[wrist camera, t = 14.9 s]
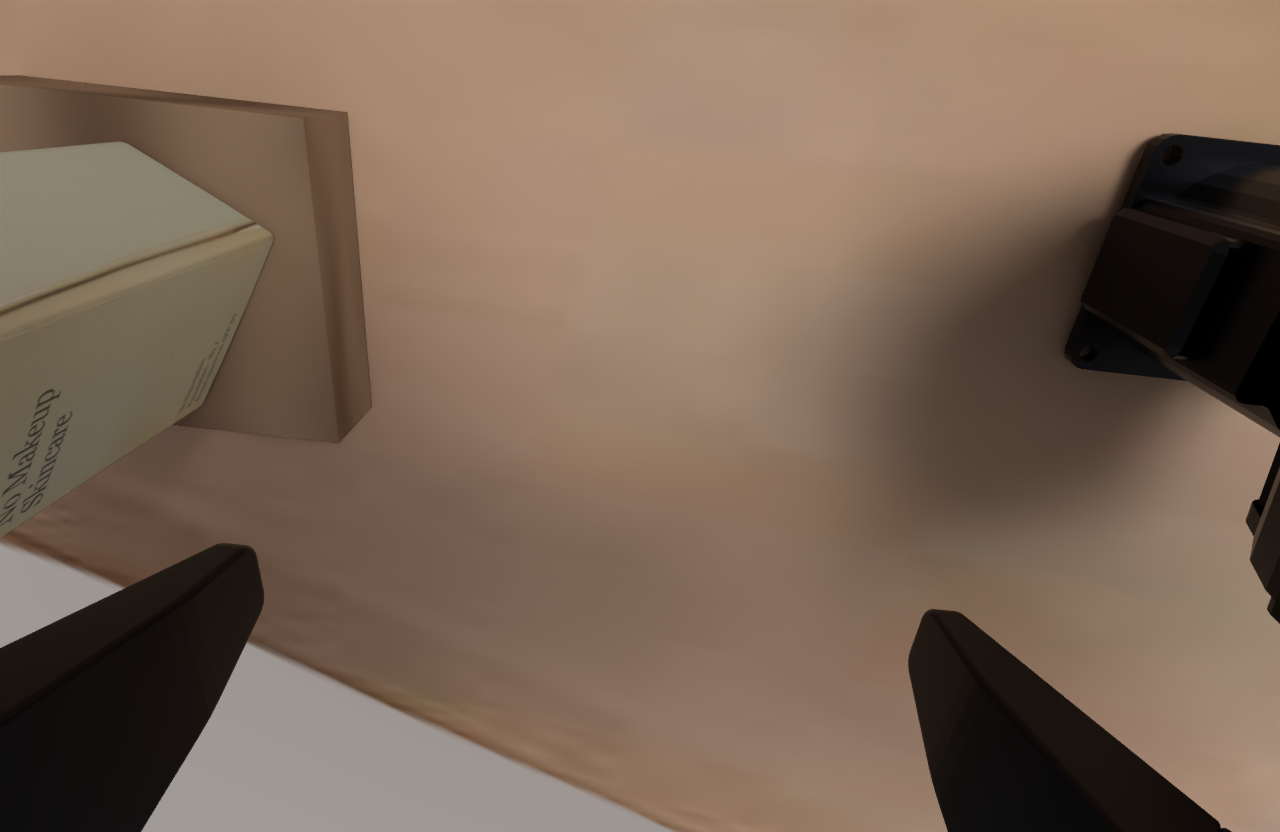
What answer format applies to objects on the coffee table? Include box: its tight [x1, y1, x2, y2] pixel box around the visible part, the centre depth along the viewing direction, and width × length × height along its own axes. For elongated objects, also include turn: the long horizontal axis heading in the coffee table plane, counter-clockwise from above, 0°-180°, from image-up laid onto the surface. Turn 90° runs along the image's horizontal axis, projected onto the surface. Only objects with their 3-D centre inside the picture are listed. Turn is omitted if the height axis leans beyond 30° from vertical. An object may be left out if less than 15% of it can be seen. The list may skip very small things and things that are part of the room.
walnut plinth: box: [0, 75, 372, 443], centre depth 20 cm, size 9×9×2 cm
